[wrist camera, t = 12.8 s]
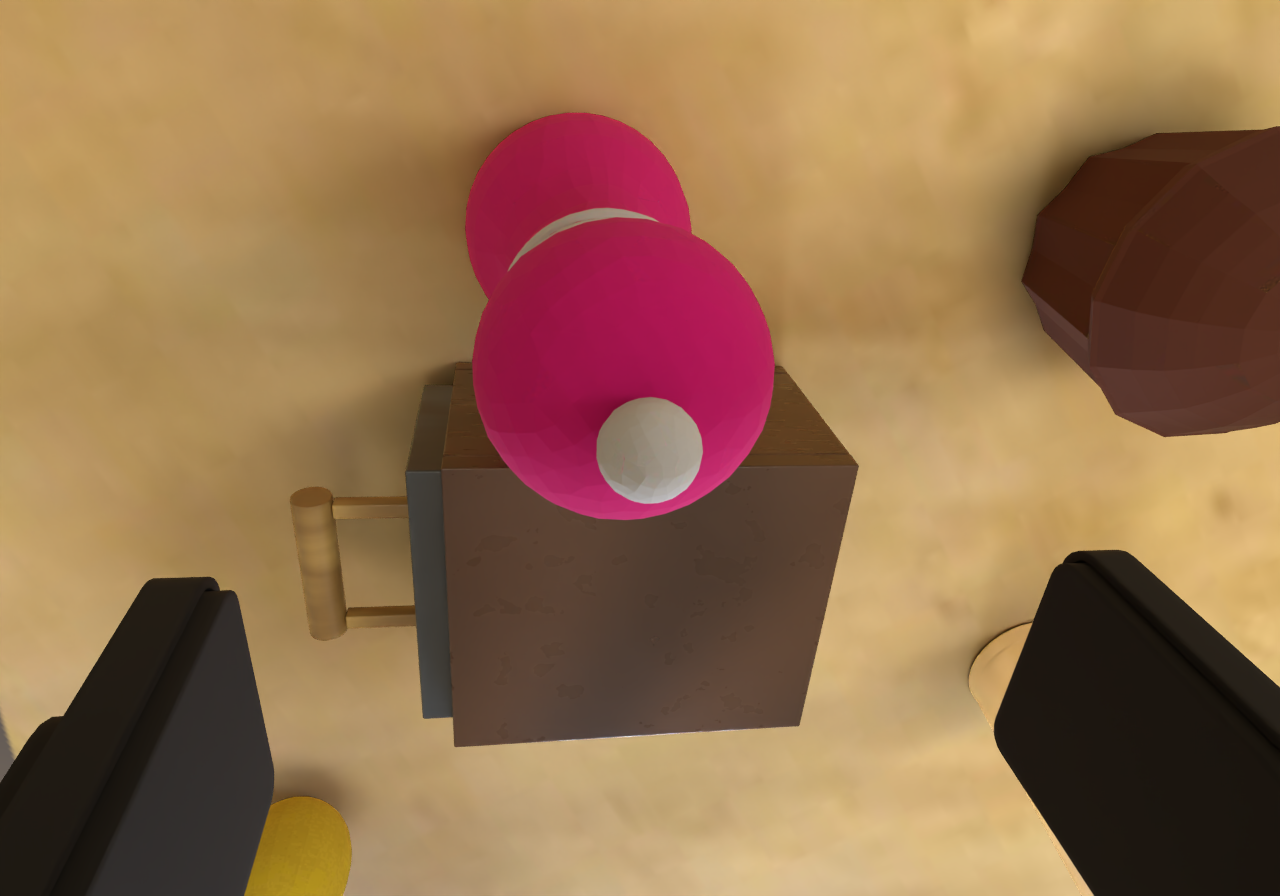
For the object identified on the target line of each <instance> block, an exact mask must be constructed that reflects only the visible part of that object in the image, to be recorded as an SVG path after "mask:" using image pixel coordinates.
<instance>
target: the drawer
mask: <svg viewBox="0 0 1280 896" xmlns="http://www.w3.org/2000/svg"><path fill="white" fill-rule="evenodd" d="M452 388H453V385H424V387H423V392H422V397H421V401H420V406H419V411H418V415H417V420H416V425H415V429H414V434H413V438H412V443H411V448H410V452H409V457H408V462H407V466H406V471H405V476H406V490H407V496H400V497H336V498H334V501H333V495H332V493H331V491H330V490H328V489H326V488H323V487H308V488H303V489H301V490H298V491H296V492H295V493H293V494H292V496H291V497H290V505H291V512H292V518H293V525H294V532H295V538H296V545H297V551H298V558H299V565H300V571H301V578H302V584H303V591H304V598H305V604H306V611H307V617H308V624H309V630H310V634H311V636H312V637H313V638H315V639H317V640H322V641H327V640H333V639H336V638H338V637H340V636H342V635H343V634H344V633H345V632H346V631H347V629H348V628H374V627H400V626H416V629H417V643H418V656H419V670H420V684H421V698H422V712H423V718H424V719H429V718H447V717H453V708H452V687H451V666H450V646H449V625H448V604H447V583H446V562H445V541H444V521H443V500H442V479H441V466H442V459H443V452H444V445H445V438H446V431H447V424H448V417H449V409H450V402H451V395H452ZM361 518H409V531H410V545H411V559H412V573H413V587H414V601H415V605H413V606H384V607H354V608H348V609H347V610H346V602H345V594H344V585H343V577H342V569H341V561H340V553H339V545H338V536H337V528H336V520H335V519H361Z"/></svg>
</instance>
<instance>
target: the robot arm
mask: <svg viewBox="0 0 1280 896" xmlns="http://www.w3.org/2000/svg"><path fill="white" fill-rule="evenodd" d="M994 736H995V740H996V743H997V746H998V748H999V750H1000V752H1001V754H1002V755H1003V757H1004V758H1005V760H1006V762H1007V763H1008V765H1009V766H1010V768H1011V769H1012V771H1013V772H1014V774H1015V775H1016V777H1017V778H1018V780H1019V782H1020V783H1021V785H1022V786H1023V788H1024V789H1025V791H1026V792H1027V794H1028V795H1029V797H1030V798H1031V800H1032V802H1033V803H1034V805H1035V806H1036V808H1037V809H1038V811H1039V812H1040V814H1041V815H1042V817H1043V818H1044V820H1045V821H1046V823H1047V825H1048V826H1049V828H1050V829H1051V831H1052V832H1053V834H1054V835H1055V837H1056V838H1057V840H1058V841H1059V843H1060V845H1061V846H1062V848H1063V849H1064V851H1065V852H1066V854H1067V855H1068V857H1069V858H1070V860H1071V861H1072V863H1073V865H1074V866H1075V868H1076V869H1077V871H1078V872H1079V874H1080V875H1081V877H1082V878H1083V880H1084V881H1085V883H1086V885H1087V886H1088V888H1089V889H1090V891H1091V892H1092V894H1093V895H1094V896H1280V687H1279V686H1278V685H1276V684H1275V683H1274V682H1273V681H1272V680H1271V679H1270V678H1269V677H1268V676H1266V675H1265V674H1264V673H1263V672H1262V671H1261V670H1260V669H1259V668H1257V667H1256V666H1255V665H1254V664H1253V663H1252V662H1251V661H1250V660H1249V659H1247V658H1246V657H1245V656H1244V655H1243V654H1242V653H1241V652H1240V651H1239V650H1237V649H1236V648H1235V647H1234V646H1233V645H1232V644H1231V643H1230V642H1229V641H1227V640H1226V639H1225V638H1224V637H1223V636H1222V635H1221V634H1220V633H1218V632H1217V631H1216V630H1215V629H1214V628H1213V627H1212V626H1211V625H1210V624H1208V623H1207V622H1206V621H1205V620H1204V619H1203V618H1202V617H1201V616H1200V615H1198V614H1197V613H1196V612H1195V611H1194V610H1193V609H1192V608H1191V607H1190V606H1188V605H1187V604H1186V603H1185V602H1184V601H1183V600H1182V599H1181V598H1180V597H1178V596H1177V595H1176V594H1175V593H1174V592H1173V591H1172V590H1171V589H1169V588H1168V587H1167V586H1166V585H1165V584H1164V583H1163V582H1162V581H1161V580H1159V579H1158V578H1157V577H1156V576H1155V575H1154V574H1153V573H1152V572H1151V571H1149V570H1148V569H1147V568H1146V567H1145V566H1144V565H1143V564H1142V563H1141V562H1139V561H1138V560H1137V559H1136V558H1135V557H1134V556H1132V555H1131V554H1129V553H1128V552H1126V551H1121V550H1097V551H1077V552H1073V553H1071V554H1070V555H1068V556H1067V557H1066V558H1065V560H1064V562H1063V563H1062V564H1060V565H1058V566H1057V567H1056V568H1055V569H1054V571H1053V572H1052V574H1051V577H1050V579H1049V582H1048V584H1047V587H1046V590H1045V592H1044V595H1043V597H1042V600H1041V602H1040V605H1039V608H1038V610H1037V613H1036V615H1035V618H1034V620H1033V623H1032V625H1031V628H1030V631H1029V633H1028V636H1027V638H1026V641H1025V643H1024V646H1023V649H1022V651H1021V654H1020V656H1019V659H1018V661H1017V664H1016V667H1015V669H1014V672H1013V674H1012V677H1011V679H1010V682H1009V684H1008V687H1007V690H1006V692H1005V695H1004V697H1003V700H1002V702H1001V705H1000V708H999V710H998V713H997V715H996V718H995V722H994ZM273 789H274V768H273V762H272V757H271V752H270V748H269V743H268V738H267V733H266V729H265V724H264V719H263V714H262V710H261V705H260V700H259V695H258V691H257V686H256V681H255V676H254V672H253V667H252V662H251V657H250V653H249V648H248V643H247V638H246V634H245V629H244V624H243V619H242V615H241V610H240V605H239V601H238V598H237V595H236V593H235V592H234V591H232V590H226V591H220V589H219V586H218V583H217V582H216V581H215V579H214V578H211V577H187V578H153V579H151V580H149V581H147V582H146V584H145V585H144V586H143V587H142V589H141V590H140V592H139V594H138V595H137V597H136V598H135V600H134V602H133V603H132V605H131V607H130V608H129V610H128V611H127V613H126V615H125V616H124V618H123V620H122V621H121V623H120V625H119V626H118V628H117V629H116V631H115V633H114V634H113V636H112V638H111V639H110V641H109V642H108V644H107V646H106V647H105V649H104V651H103V652H102V654H101V656H100V657H99V659H98V660H97V662H96V664H95V665H94V667H93V669H92V670H91V672H90V673H89V675H88V677H87V678H86V680H85V682H84V683H83V685H82V686H81V688H80V690H79V691H78V693H77V695H76V696H75V698H74V700H73V701H72V703H71V704H70V706H69V708H68V709H67V711H66V713H65V714H64V716H59V717H51V718H50V719H48V720H47V721H45V722H44V723H42V724H40V725H39V727H38V728H37V729H36V730H35V732H34V733H33V734H32V735H31V737H30V738H29V739H28V741H27V742H26V744H25V745H24V747H23V748H22V750H21V751H20V753H19V755H18V756H17V758H16V759H15V761H14V762H13V764H12V765H11V767H10V769H9V770H8V772H7V774H6V775H5V776H4V778H3V780H2V781H1V783H0V896H244V894H245V891H246V888H247V884H248V881H249V877H250V874H251V870H252V867H253V864H254V860H255V857H256V853H257V850H258V846H259V843H260V839H261V836H262V833H263V829H264V826H265V822H266V819H267V815H268V812H269V809H270V805H271V801H272V796H273Z"/></svg>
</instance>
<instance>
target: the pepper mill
mask: <svg viewBox="0 0 1280 896" xmlns="http://www.w3.org/2000/svg"><path fill="white" fill-rule="evenodd" d="M465 231H466V239H467V246H468V252H469V257H470V261H471V264H472V267H473V270H474V273H475V276H476V278H477V280H478V282H479V284H480V285H481V287H482V289H483V291H484V293H485V295H486V296H487V298H488V299H489V301H488V303H487V305H486V307H485V309H484V311H483V313H482V316H481V320H480V323H479V327H478V330H477V334H476V338H475V345H474V352H473V359H472V369H473V386H474V392H475V397H476V403H477V408H478V410H479V413H480V416H481V419H482V422H483V425H484V427H485V430H486V433H487V436H488V438H489V439H490V441H491V442H492V444H493V446H494V447H495V449H496V450H497V452H498V453H499V455H500V456H501V458H502V459H503V461H504V462H505V463H506V464H507V465H508V467H509V468H510V469H511V470H512V471H513V472H514V473H515V474H516V475H517V476H518V478H519V479H520V480H521V481H522V482H523V483H524V484H525V485H527V486H528V487H530V488H531V489H532V490H534V491H535V492H537V493H538V494H539V495H541V496H542V497H544V498H545V499H547V500H549V501H550V502H552V503H554V504H556V505H558V506H561V507H564V508H566V509H569V510H571V511H574V512H576V513H579V514H582V515H586V516H590V517H594V518H598V519H616V520H632V519H643V518H648V517H652V516H657V515H662V514H666V513H669V512H671V511H674V510H676V509H679V508H682V507H684V506H687V505H690V504H691V503H693V502H695V501H696V500H698V499H700V498H701V497H703V496H705V495H706V494H708V493H710V492H711V491H712V490H713V489H715V488H716V487H717V486H719V485H720V484H721V483H722V482H724V481H725V480H726V479H727V478H729V477H730V476H731V475H732V474H733V472H734V471H735V470H736V469H737V467H738V466H739V465H740V464H741V463H742V461H743V460H744V459H745V458H746V457H747V455H748V454H749V452H750V451H751V449H752V447H753V446H754V444H755V442H756V440H757V439H758V437H759V435H760V434H761V432H762V430H763V427H764V424H765V421H766V418H767V415H768V412H769V409H770V405H771V398H772V392H773V382H774V369H775V363H774V356H773V349H772V343H771V336H770V331H769V328H768V325H767V322H766V320H765V317H764V314H763V312H762V310H761V308H760V305H759V303H758V301H757V300H756V298H755V296H754V294H753V292H752V290H751V288H750V287H749V285H748V283H747V282H746V281H745V279H744V278H743V277H742V275H741V274H740V273H739V272H738V270H737V269H736V268H735V267H734V265H733V264H732V263H731V262H730V261H728V260H727V259H726V258H725V257H724V256H723V255H722V254H720V253H719V252H718V251H717V250H716V249H714V248H713V247H712V246H711V245H709V244H708V243H707V242H705V241H704V240H702V239H700V238H698V237H696V236H695V235H693V234H691V223H690V215H689V208H688V204H687V202H686V199H685V196H684V193H683V191H682V188H681V185H680V183H679V180H678V178H677V176H676V174H675V172H674V170H673V169H672V167H671V166H670V164H669V162H668V161H667V159H666V158H665V156H664V155H663V154H662V153H661V152H660V151H659V150H658V148H657V147H656V146H655V145H654V144H653V143H652V142H651V141H650V140H648V139H647V138H646V137H645V136H643V135H642V134H641V133H639V132H638V131H637V130H635V129H633V128H631V127H629V126H628V125H626V124H624V123H622V122H620V121H617V120H614V119H611V118H608V117H605V116H602V115H596V114H590V113H563V114H556V115H550V116H547V117H543V118H541V119H538V120H535V121H532V122H530V123H528V124H526V125H525V126H523V127H521V128H519V129H518V130H516V131H514V132H513V133H512V134H510V135H509V136H508V137H507V138H505V139H504V140H503V141H502V142H500V143H499V144H498V146H497V147H496V148H495V149H494V150H493V151H492V152H491V154H490V155H489V156H488V157H487V158H486V160H485V162H484V163H483V165H482V167H481V168H480V170H479V171H478V173H477V175H476V178H475V180H474V183H473V185H472V188H471V190H470V194H469V199H468V203H467V207H466V225H465Z"/></svg>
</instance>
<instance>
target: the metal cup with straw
mask: <svg viewBox="0 0 1280 896" xmlns="http://www.w3.org/2000/svg"><path fill="white" fill-rule="evenodd" d="M1031 625H1032V623H1028V624H1024V625H1021V626H1018V627H1015V628H1013V629H1010V630H1008V631H1006V632H1005V633H1003V634H1001V635H1000V636H998V637H997V638H995V639H994V640H993V641H991V642H990V643H989V644H988V645H987V646H986V647H985V648H984V649H983V650H982V651H981V652H980V654H979V655H978V656H977V658H976V659H975V661H974V663H973V665H972V667H971V670H970V674H969V688H970V691H971V694H972V695H973V697H974V698H975V700H976V701H977V702H978V704H979V706H980V708H981V710H982V712H983V714H984V716H985V717H986V719H987V721H988V723H989V724H990V726H991V728H992V730H993V732H994V722H995V718H996V715H997V713H998V710H999V708H1000V705H1001V702H1002V700H1003V697H1004V695H1005V692H1006V690H1007V687H1008V684H1009V682H1010V679H1011V677H1012V674H1013V672H1014V669H1015V667H1016V664H1017V661H1018V659H1019V656H1020V654H1021V651H1022V649H1023V646H1024V643H1025V641H1026V638H1027V636H1028V633H1029V631H1030V628H1031ZM1025 792H1026V791H1025ZM1026 794H1027V792H1026ZM1027 797H1028V798H1029V800H1030V802H1031V804H1032V806H1033V808H1034V809H1035V811H1036V813H1037V815H1038V817H1039V819H1040V820H1041V822H1042V824H1043V826H1044V828H1045V830H1046V831H1047V833H1048V835H1049V837H1050V839H1051V841H1052V843H1053V844H1054V846H1055V848H1056V850H1057V852H1058V854H1059V855H1060V857H1061V859H1062V861H1063V863H1064V865H1065V866H1066V868H1067V870H1068V872H1069V874H1070V876H1071V877H1072V879H1073V881H1074V883H1075V885H1076V887H1077V889H1078V890H1079V892H1080V894H1081V896H1094V895H1093V894H1092V892H1091V891H1090V889H1089V888H1088V886H1087V885H1086V883H1085V881H1084V880H1083V878H1082V877H1081V875H1080V874H1079V872H1078V871H1077V869H1076V868H1075V866H1074V865H1073V863H1072V861H1071V860H1070V858H1069V857H1068V855H1067V854H1066V852H1065V851H1064V849H1063V848H1062V846H1061V845H1060V843H1059V841H1058V840H1057V838H1056V837H1055V835H1054V834H1053V832H1052V831H1051V829H1050V828H1049V826H1048V825H1047V823H1046V821H1045V820H1044V818H1043V817H1042V815H1041V814H1040V812H1039V811H1038V809H1037V808H1036V806H1035V805H1034V803H1033V802H1032V800H1031V798H1030V797H1029V795H1028V794H1027Z"/></svg>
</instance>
